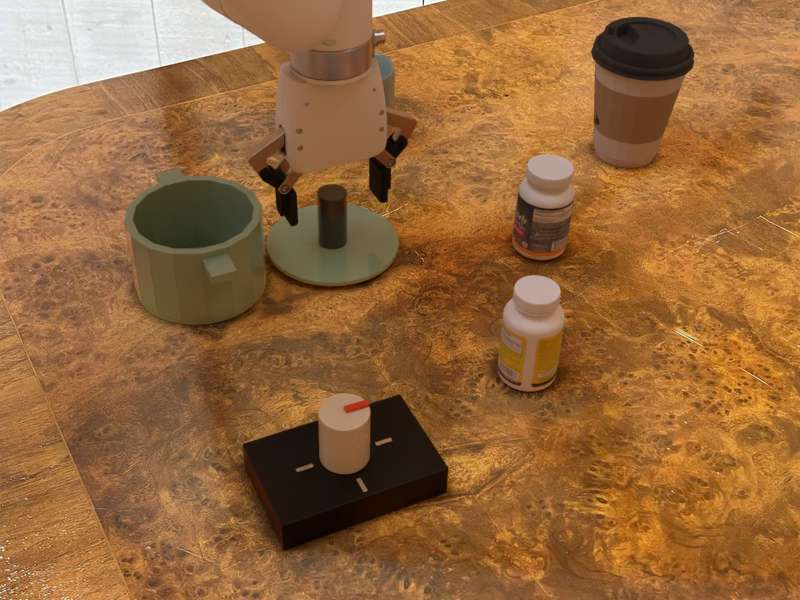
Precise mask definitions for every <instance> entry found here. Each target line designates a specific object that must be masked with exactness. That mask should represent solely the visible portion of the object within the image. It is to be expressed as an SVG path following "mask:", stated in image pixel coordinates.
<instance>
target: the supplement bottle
mask: <svg viewBox="0 0 800 600" xmlns="http://www.w3.org/2000/svg"><path fill="white" fill-rule="evenodd" d="M513 286H514V287H513V293H512V297H511V299H509V300H508V301H507V302H506V303H505V306H504V308H503V310H502V318H501V328H500V336H499V344H498V345H499V346H498V354H497V366H496V367H497V374H498V377H499V378H500V380H501V381H502V382H503V383H504V384H506V385H507V386H508V387H510V388H512V389H514V390H517V391H521V392H538V391H541V390H545V389H546V388H548V387H549V386H551V385H552V383H554V381H555V380H556V378H557V377H556V376H557V372H558V367H559V359H560V354H561V349H562V348H561V347H562V342H563V335H564V329H565V322H566V321H565V312H564V309H563V307H562V305H560V302H561V295H562V291H561V287H560V285H559V284H558V283H557V282H556V281H554V280H553V279H552V278H549V277H547V276H544V275H539V274H537V275H536V274H535V275H534V274H531V275H526V276H523V277H521V278H519V279H518V280H517V281H516V282H515V284H514V285H513Z"/></svg>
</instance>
